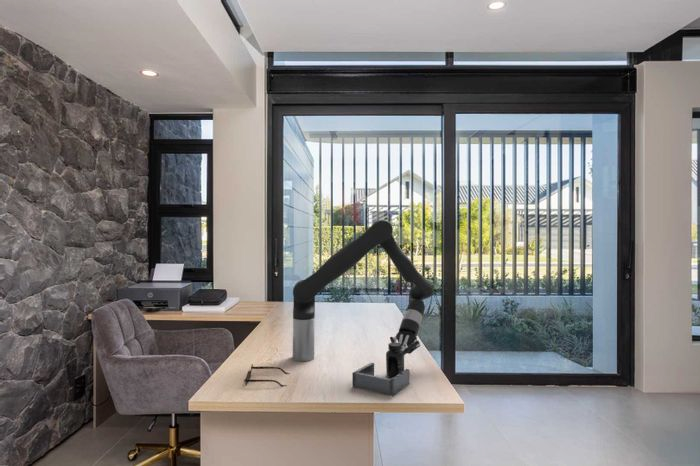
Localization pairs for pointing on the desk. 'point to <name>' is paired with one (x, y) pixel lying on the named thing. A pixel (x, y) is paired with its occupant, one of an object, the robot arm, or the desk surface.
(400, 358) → the supplement bottle
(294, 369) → the desk surface
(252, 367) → the eyeglasses
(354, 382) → the bracket
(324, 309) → the desk surface
